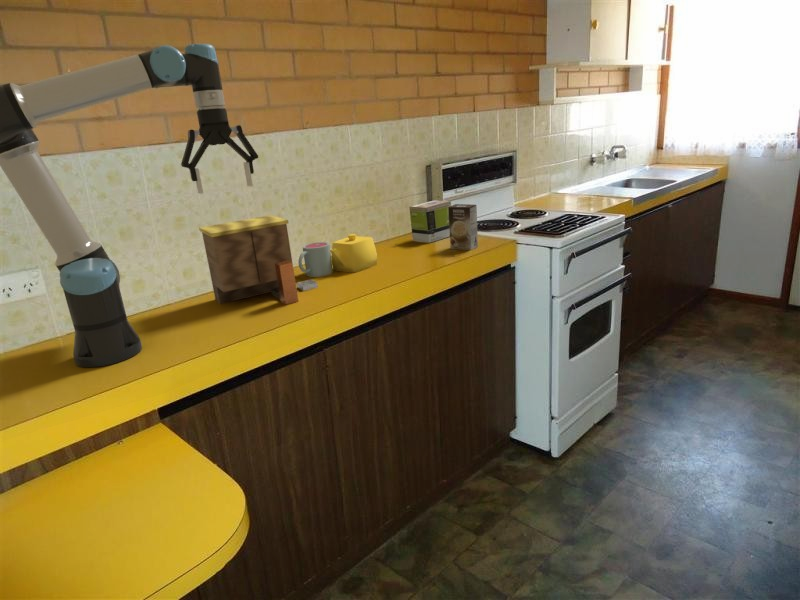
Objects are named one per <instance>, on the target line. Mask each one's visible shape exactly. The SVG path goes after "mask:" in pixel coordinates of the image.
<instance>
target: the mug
mask: <svg viewBox="0 0 800 600" xmlns="http://www.w3.org/2000/svg"><path fill="white" fill-rule="evenodd" d="M330 250H331V247H330V243H329V242H326V241H318V242H310V243H306V244H304V245H302V253H301V254H300V256H299V257H298V268H299V269H300V271H301V272H302V273H305V274H306V276H307V277H311V278H316V277H317V278H318V277H325V276H329V275H331V274H333V272H334V268H333V265H332V253H331V252H330ZM303 258H304V259H303ZM303 261H304V266H305V268H304V267H303Z"/></svg>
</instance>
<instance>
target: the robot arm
mask: <svg viewBox="0 0 800 600" xmlns="http://www.w3.org/2000/svg"><path fill="white" fill-rule="evenodd" d="M183 86H184V87H185V86H191V88H192V94H193V99H194V104H195V108H196V109H198V110H197V111H196V116H197V121H198V125H199V126H198V127H199V128H198V129H197V130H196V129H195V130H194V129H188V131H187V138H188V139H187V141H186V146H185V149H184V152H183V156H182V160H181V163H180V165H181V167H182V168H186V169H189V173H190V179H191V180H192V182H195V183H196V189H197V193H198V194H200V195H201V194H204V190H203V183H202V178H201V174H200V169H199V168H196V167H197V165H198V164H199V162H200V161H201V159H202V157H203V155H204V154H205V152H206V150H207V148H208V147H209V146H217V145H226V144H227V145H228V146H229V147H230V148H231V149H232V150H234V152H236V153H237V154H238V155H239V156H240V157H241V158H242V159H244V161H245V162H243V168H244V174H245V181H246V186H247V187H254V186H253V185H254V184H253V179H252V175H253V174H254V173H255V169H254V166H253V161H255V160H256V159H259V155H258V153H257V151H256V150H255V148H254V147H253V146H252V144H251V143H250V141H249V140H248V138H247V137H246V135H245V134H244V131H243V127H242V126H241V125H240V124H237V125H235V126H232V127H231V126H230V123H229V117H228V113H227V109H226V107H225V106H226V101H225V96H224V95H225V94H224V91H223V85H222V78H221V72H220V64H219V62H218V56H217V53H216V49H215V46H213V45H212V44H210V43H193V44H187V45H186V46H185V47H184V53H181V51H180V50H179V49H177V48H175V47H174V46H171V45H161V46H157V47H155V48H154V49H151V50H149V51H145V52H142V53H138V54H134V55H131V56H126V57H122V58H119V59H114V60H112V61H109V62H104V63H100V64H97V65H93V66H90V67H89V66H88V67H85V68H82V69H78V70H74V71H71V72H67V73H63V74H60V75H56V76H52V77H49V78H45V79H41V80H37V81H33V82H30V83H25V84H23V85H18V84H16V83H13V82H8V83H4V84H1V85H0V169H2V171H3V172H4V174H5V176H6V177H7V179H8V181H9V183H10V184H11V185H12V187H13V189H14V190H15V192H16V193H17V195H18V196H19V198H20V199H21V201H22V202H23V204H24V206H25V208H26V209H27V210H28V212H29V214H30V215H31V217H32V218H33V220H34V221H35V223H36V224H37V226H38V227H39V230H40V231H41V232H42V234H43V235H44V237H45V239H46V240H47V241H48V243H49V246H51V248H52V250H53V251H54V253H55V254H56V259H55V262H54V265H55V267H56V268H57V270H58V271H59V283H60V287H61V288H62V291H63V293H64V297H65V300H66V304H67V307H68V311H69V314H70V318H71V323H72V325H73V328H74V343H73V353H72V354H73V355H72V356H73V359H74V363H75V365H76V366H78V367H81V368H98V367H99V368H100V367H104V366H110V365H113V364H116V363H117V364H118V363H120V362H124V361H125V360H128V359H130V358H132V357H134V356H136V355H137V354H139V353H140V352H141V351H142V350H143V344H142V341H141V338H140V336H139V335H138V333H137V332H136V331H135V329H134V328H133V326H132V325H131V323H130V322H129V320H128V316H127V313H126V309H125V304H124V300H123V297H122V293H121V287H120V283H121V274H120V270H119V268H118V266H117V264H116V263H115V262H114V261H113V260H111V258H110V257H109V255H108V253H107V251H105V248H104V247H103V246H102V244H101V243H100V242H96V241H93V240H92V239H91V238H90V235H88V232H87V231H86V229H85V228H84V226H83V225H82V223H81V221H80V219H79V218H78V216H77V214H76V213H75V211H74V210H73V208H72V206H71V204H70V202H68V200H67V198H66V197H65V194H64V193H63V191H62V190H61V188H60V186H59V184H58V183H57V181H56V179H55V178H54V176H53V175H52V173H51V172H50V170H49V168H48V166H47V165H46V164H45V161H44V160H43V157H42V156H41V155H40V153H39V146H40V140H39V138H38V137H37V135H36V133H35V132H34V130H33V129H35V128H36V127H37V125H38V123H39V122H42V121H45V120H49V119H52V118H55V117H58V116H62V115H65V114H68V113H72V112H76V111H80V110H82V109H87V108H89V107H93V106H96V105H99V104H100V105H101V104H104V103H106V102H110V101H113V100H117V99H119V98H123V97H126V96H130V95H133V94H137V93H140V92H144V91H147V90H150V89H151V90H152V89H161V88H170V87H183ZM224 107H225V108H224ZM232 133H233V134H234V135H236V136H237V138H238V140H239V141H240V142H241V144H242V146H243V147H244V148H245V149H246V151H247V152H246V151H245V150H244V149H242V147H241V146H239V145H238V144H237V143H236V142H235V140H233V138H231V137H230V136H231V135H232ZM198 136H199V137H201V138H202V139H203V140H202V141H201V143H200V145H199V147H198V149H197V150H196V152H195V154H194V155H193V157H192V159H191V155H192V152H193V148H194V145H195V140H196V139H197V138H198ZM190 159H191V160H190Z"/></svg>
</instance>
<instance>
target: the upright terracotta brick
mask: <svg viewBox="0 0 800 600" xmlns="http://www.w3.org/2000/svg"><path fill="white" fill-rule="evenodd" d="M275 268H276V275H277V281H278V287H279V288H274V289H271V292H270V293H271V295H273V296H274V297H276V298H277V299H279V300H280V303H282V304H284V305H290V304H295V303H298V302H299V296H298V288H297V282H296V277H295V271H294V270H295V269H294V264H293V261H292V262H290V261H288V260H287V261H282V262H277V263H275Z"/></svg>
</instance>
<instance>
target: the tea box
mask: <svg viewBox="0 0 800 600" xmlns="http://www.w3.org/2000/svg"><path fill="white" fill-rule="evenodd" d="M450 206H452V201H451V200H435V199H434V200H431V201H427V202H423V203H418V204H416V205H415V204H414V205H410V206H409V207H408V208H409V216H410V226H411V237H412V241H413V242H418V243H425V244H429V243H433V242H434V243H435V242H436V241H440V240H442V239H443V240H444V239H446V238H450V228H449V210H448V207H450Z"/></svg>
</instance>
